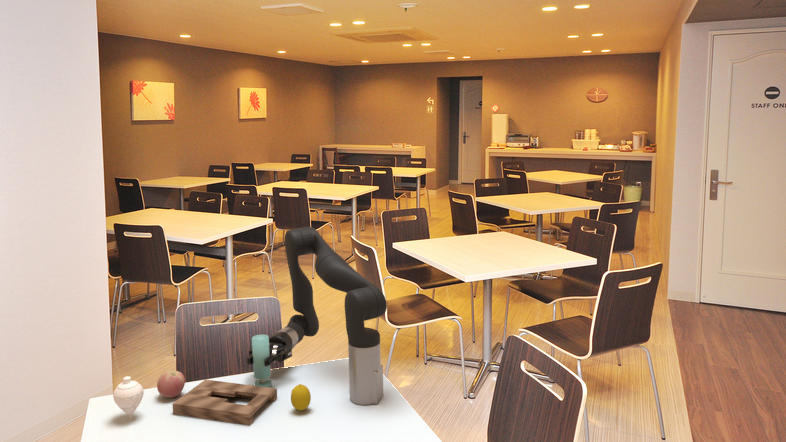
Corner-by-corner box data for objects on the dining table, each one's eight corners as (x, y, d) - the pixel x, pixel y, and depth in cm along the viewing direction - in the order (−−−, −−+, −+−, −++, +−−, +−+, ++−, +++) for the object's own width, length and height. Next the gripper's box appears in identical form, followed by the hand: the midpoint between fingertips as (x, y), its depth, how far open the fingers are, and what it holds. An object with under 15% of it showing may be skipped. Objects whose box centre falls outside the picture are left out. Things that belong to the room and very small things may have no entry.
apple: (172, 405, 172) (170, 379, 171) (152, 400, 175) (149, 374, 174) (191, 393, 179) (189, 368, 178) (171, 389, 182) (169, 364, 181)
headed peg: (274, 384, 185) (271, 335, 182) (266, 391, 180) (263, 341, 177) (259, 382, 186) (256, 333, 183) (251, 389, 181) (248, 339, 179)
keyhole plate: (277, 398, 175) (276, 388, 175) (249, 425, 160) (249, 414, 159) (206, 389, 182) (205, 379, 181) (173, 414, 167) (172, 403, 166)
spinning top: (142, 423, 162) (138, 382, 159) (112, 426, 160) (107, 384, 158) (148, 410, 169) (145, 370, 167) (120, 412, 168) (116, 372, 166)
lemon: (307, 416, 164) (306, 389, 163) (288, 414, 166) (287, 387, 164) (313, 407, 170) (312, 380, 168) (295, 405, 171) (294, 379, 169)
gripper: (262, 329, 196) (235, 348, 180) (302, 333, 192) (278, 353, 176) (263, 350, 198) (236, 371, 181) (303, 355, 194) (279, 376, 178)
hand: (257, 362), depth 179 cm, fingers closed on headed peg, 5 cm apart
